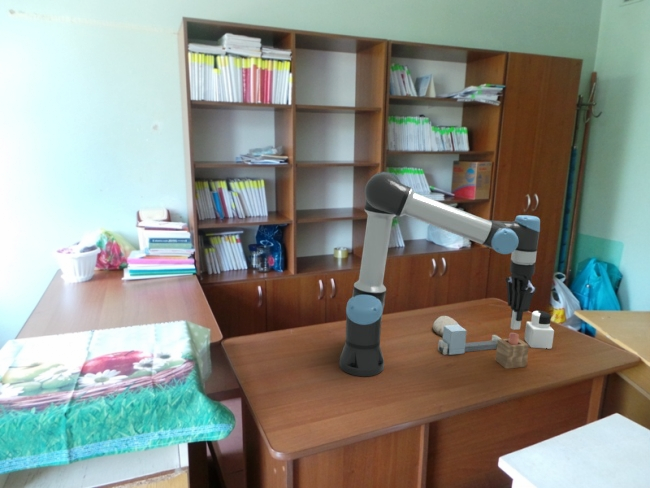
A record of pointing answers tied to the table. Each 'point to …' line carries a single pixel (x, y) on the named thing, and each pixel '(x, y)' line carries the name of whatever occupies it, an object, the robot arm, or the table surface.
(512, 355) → the wooden box
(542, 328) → the container
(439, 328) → the stone
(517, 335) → the plunger
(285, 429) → the table surface
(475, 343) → the rail
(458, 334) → the carriage
